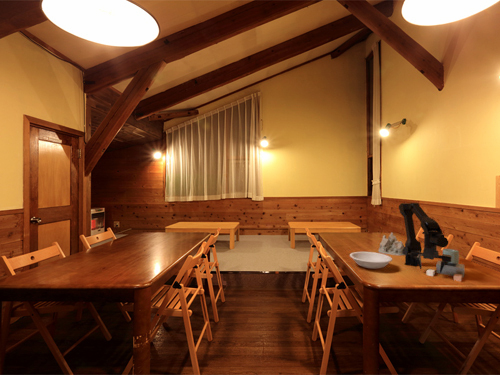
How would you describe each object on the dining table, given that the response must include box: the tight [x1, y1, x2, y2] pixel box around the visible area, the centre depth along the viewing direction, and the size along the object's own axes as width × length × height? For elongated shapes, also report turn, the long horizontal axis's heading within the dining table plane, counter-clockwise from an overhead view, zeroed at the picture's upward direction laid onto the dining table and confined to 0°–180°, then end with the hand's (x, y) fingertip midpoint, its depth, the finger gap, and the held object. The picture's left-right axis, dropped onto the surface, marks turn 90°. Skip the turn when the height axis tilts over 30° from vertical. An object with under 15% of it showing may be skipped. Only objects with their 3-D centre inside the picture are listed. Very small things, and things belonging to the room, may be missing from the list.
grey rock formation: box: [377, 232, 405, 257], centre depth 192 cm, size 16×16×15 cm
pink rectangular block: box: [453, 274, 463, 282], centre depth 136 cm, size 3×5×2 cm, turn 134°
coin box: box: [435, 260, 465, 279], centre depth 146 cm, size 12×9×5 cm
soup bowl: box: [349, 251, 393, 270], centre depth 159 cm, size 24×24×7 cm
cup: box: [442, 248, 460, 264], centre depth 158 cm, size 8×8×10 cm
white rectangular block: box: [425, 268, 436, 277], centre depth 144 cm, size 3×5×2 cm, turn 134°
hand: (430, 270), depth 145 cm, fingers open, 9 cm apart
